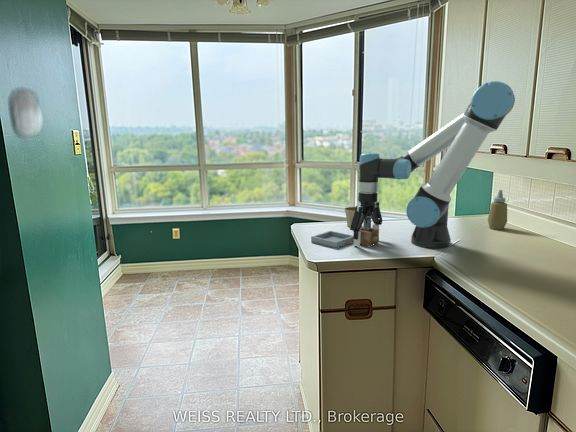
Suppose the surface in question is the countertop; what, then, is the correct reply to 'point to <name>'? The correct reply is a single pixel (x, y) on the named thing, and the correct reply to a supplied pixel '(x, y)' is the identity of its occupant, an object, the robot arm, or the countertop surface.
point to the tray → (332, 239)
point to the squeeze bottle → (498, 212)
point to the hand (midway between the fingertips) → (366, 243)
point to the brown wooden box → (369, 236)
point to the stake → (367, 223)
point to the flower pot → (349, 214)
